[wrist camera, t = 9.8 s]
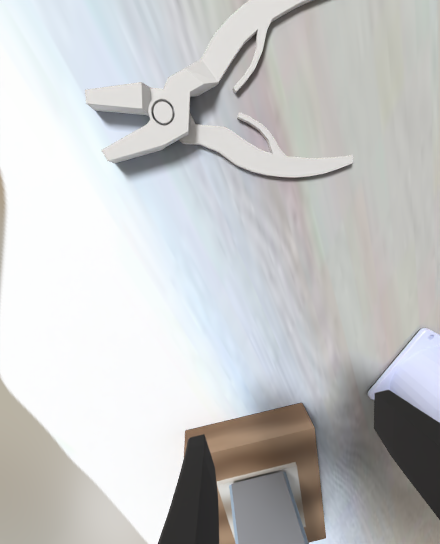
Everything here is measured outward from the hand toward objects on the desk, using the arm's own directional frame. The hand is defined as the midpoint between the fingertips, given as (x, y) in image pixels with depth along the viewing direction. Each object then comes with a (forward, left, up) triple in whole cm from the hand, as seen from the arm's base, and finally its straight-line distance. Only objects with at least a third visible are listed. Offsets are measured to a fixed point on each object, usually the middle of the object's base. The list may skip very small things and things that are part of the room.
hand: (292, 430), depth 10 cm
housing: (-10, +15, -7) cm, 19 cm away
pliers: (+8, -12, -10) cm, 17 cm away
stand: (-10, +15, -9) cm, 20 cm away
